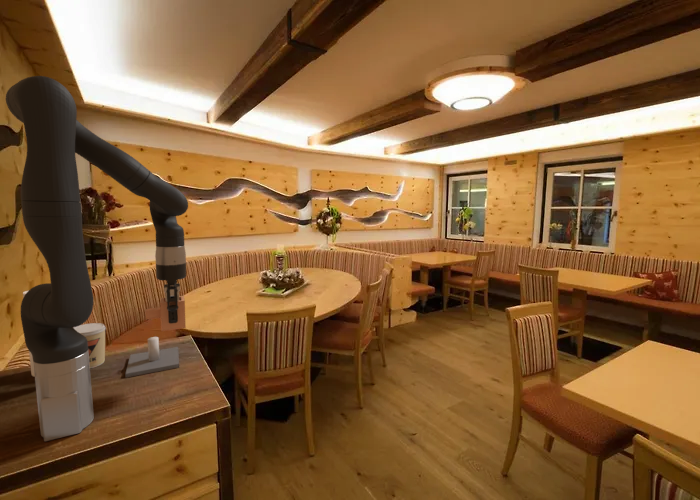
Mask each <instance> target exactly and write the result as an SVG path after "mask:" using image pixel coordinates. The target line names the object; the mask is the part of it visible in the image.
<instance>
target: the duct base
mask: <svg viewBox="0 0 700 500" xmlns="http://www.w3.org/2000/svg"><path fill="white" fill-rule="evenodd" d="M159 339H160V337H158V336H153V337H152V336H151V337H148V338H147V351H145V352H139V353H131V354H130V355H129V359H128V363H127V366H126V371H125V373H124V374H125V378H130V377H136V376H141V375H147V374H152V373H158V372H162V371H168V370H173V369H177V368H180V359H179V357H180V356H179V346H175V347H169V348H168V347H167V348H163V349H160V341H159Z"/></svg>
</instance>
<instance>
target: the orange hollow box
mask: <svg viewBox="0 0 700 500" xmlns="http://www.w3.org/2000/svg"><path fill="white" fill-rule="evenodd" d="M185 303H186V300H185V295H179V301H178V310H177V315H178V322H177V323H169V317H168V309H167V302H166V301H165V297H160V301H159V305H160V306H158V307H151V308H150V307H148V308H145V311H144V312H145V320H153V319H160V331H161V332H167V331H174V330H180V329H182V330H183V329H186V328H187V327H186V305H185ZM169 304H170V305H176V302H170V303H169Z"/></svg>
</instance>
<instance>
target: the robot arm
mask: <svg viewBox="0 0 700 500" xmlns="http://www.w3.org/2000/svg"><path fill="white" fill-rule="evenodd" d="M5 104H6V106H7V109H8V111H10V113H11V114H12V115H13V116H14V118H16V119H17V120H18V121H19V122H21V123H23V128H24V132H25V138H26V158H25V162H24V166H23V171H22V177H21V183H20V200H21V201H20V202H21V204H20V205H21V211H22V213H21V214H22V221H23V225H24V227H25V229H26V232H27V233H28V235H29V237H30V238H31V240H32V242H33V243H34V244H35V246H36V247H37V248H38V250H39V252H40V253H41V255H42V256H43V258H44V260H45V262H46V264H47V267H48V271H49V278H50V280H49V281H50V282H49V283H41V284H38V285H35V286H33V287H31V288H30V289H29V291H28V290H27V291H28V292H27V293H26V294H25V296H24V298H23V297H22V301H21V304H20V320H21V326H22V327H21V328H22V331H23V336H24V337H23V339H24V342H25V346H26V348H27V350H28V352H29V351H30V352H31V354H32V357H33V364H34V374H35V377H34V384H35V392H36V401H37V411H38V419H39V420H38V421H39V428H40V429H39V430H40V435H41V437H42V438H43V442H49V441H53V440H56V439H60V438H64V437H69V436H73V435H77V434H80V433H81V432H82V431H83V430H84V429H85V428H86V427H88V426H89V425H90V424H91V423H92V422H93V420H94V417H95V415H94V404H93V402H94V401H93V390H92V378H91V368H90V364H89V351H88V341H87V338H86V337H85V336H83V335H82V334H80V333H79V332H77V331H76V330H75V329H74V328H73V327H77V326H80V325H84V324H85V323H86V322H87V321H88V319H89V318H90V316H91V315H92V312H93V309H94V294H93V288H92V283H91V277H90V273H89V269H88V264H87V259H86V257H87V256H86V250H85V241H84V232H83V231H84V230H83V211H82V200H81V193H80V183H79V174H78V167H77V166H78V165H77V160H76V158H77V157H76V154H77V155H78V156H79V157H82V158H83V159H84V160H86V161H88V162H89V163H91V164H92V165H94V166H95V167H96V168H97V169H99V170H101V171H102V172H103V173H105V174H106V175H107V176H109V177H110V178H111V179H113V180H114V181H116V182H117V183H118V184H119V185H121V186H122V187H123V188H125V189H127V190H128V191H129V192H131V193H132V194H133V195H136V196H137V197H141V198H145V199H147V200H148V201H149V205H148V206H149V213H150V216H151V220H152V224H153V226H154V227H153V228H154V231H155V255H154V257H155V258H154V259H155V274H156V275H155V278H156V280H158V281H166V283H164V284H163V285H164V286H163V291H164V298H165V301H166V302H167V309H168V317H169V323H177V322H178V315H177V310H178V301H179V296H180V291H181V285H180V283H178V280H182V279H185V278H187V253H186V249H185V248H186V247H185V231H184V227H183V226H181V225H180V224H178V220H177V217H179V216H182V215H184V214H185V213H186V212H187V211H188V209H189V201H188V199H187V197H186V196H185V195H184V193H183V192H182V191H180V190H179V189H178V188H176V187H175V186H173V185H172V184H170V183H169V182H166V181H165V180H164V179H161V178H159V176H156V175H155V174H154V173H153V172H152V171H150V170H149V169H148V168H147V167H145V165H143V164H142V163H141V162H139V161H138V160H137V159H136V158H135V157H133V156H132V155H130V154H129V153H127V152H126V151H124V150H122V149H120V148H119V147H117V146H115V145H114V144H112V143H110V142H109V141H107V140H104V139H103V138H101V137H100V136H98V135H97V134H95V133H93V132H92V131H91V130H90V129H88V128H87V127H86V126H84V124H82V123H81V122H79V120H78V119H77V118H78V117H77V116H78V115H77V113H78V111H77V105H76V102H75V99H74V97H73V95H72V94H71V93H70V91H69V90H68V88H67V87H66V86H64V85H63V84H62V83H60V82H59V81H57V80H56V79H54V78H51V77H48V76H44V75H35V76H34V75H32V76H29V77H26V78H23V79H21V80H19V81H17V82H16V83H15V84H14V85H12V86H10V87H9V89H8V90H7V91H6V94H5ZM170 302H176V305H170V304H169V303H170Z"/></svg>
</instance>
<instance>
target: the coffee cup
mask: <svg viewBox="0 0 700 500" xmlns="http://www.w3.org/2000/svg"><path fill="white" fill-rule="evenodd" d="M73 328H74V329H75V330H76V331H77V332H79V333H80V334H82V335H83V336H85V337H86V338H87V341H88V351H89V364H90V369H94V368H96V367H99V366H101V365H102V364H104V362H105V361H106V360H105V358H106V326H105V324H104V323H99V322H94V323H93V322H92V323H91V322H90V323H83V324H82V325H80V326H77V327H73Z"/></svg>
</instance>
